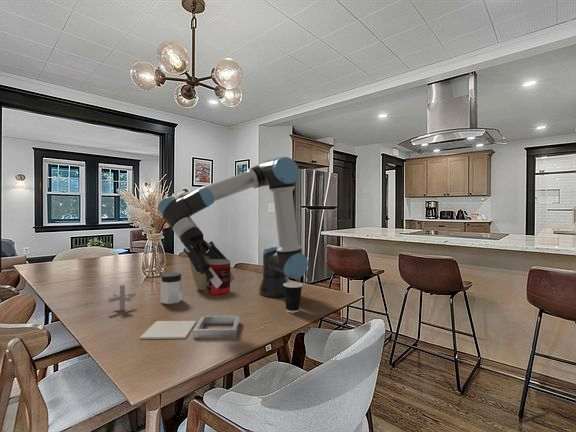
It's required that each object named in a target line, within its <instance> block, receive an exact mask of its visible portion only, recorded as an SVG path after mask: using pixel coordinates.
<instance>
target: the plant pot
mask: <svg viewBox="0 0 576 432" xmlns="http://www.w3.org/2000/svg"><path fill="white" fill-rule="evenodd" d="M204 256H205V255H204ZM205 259H206V262H207V261H208V260H211V259H210V258H209V257H208V256H205ZM189 262H190V268H191V272H192V278H193V281H194V283H195V286H196V289H197V290H198V291H206V275H205V274H200V272H197V271H196V269H195V267H194V266H193V264H192V262H191V260H190V259H189ZM199 267H200V266H199Z"/></svg>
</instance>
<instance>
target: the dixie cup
mask: <svg viewBox="0 0 576 432" xmlns="http://www.w3.org/2000/svg"><path fill="white" fill-rule="evenodd" d="M283 285H284V292H285V296H284V300H285V301H284V302H285V310H286V313H289V312H290V313H289V314H296V313H295V312H297V313H298V312H299V310H300V305H301V296H302V288H303V287H304V286H303V285H304V284H303V283H301V282H295V281H289V282H287V283H284V284H283Z"/></svg>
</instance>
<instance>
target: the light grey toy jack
mask: <svg viewBox="0 0 576 432" xmlns="http://www.w3.org/2000/svg"><path fill="white" fill-rule="evenodd" d="M125 292H126V284H119V293H118V292H114V294H113V295H112V297H108V303H115V302H118V301H119V311H124V310H126V308H125V307H126V302H131V301H132V298H134V297H136V292H135V291H134V292H130V293H125Z"/></svg>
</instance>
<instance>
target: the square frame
mask: <svg viewBox="0 0 576 432" xmlns="http://www.w3.org/2000/svg"><path fill="white" fill-rule="evenodd" d="M240 318H241V316H240V315H202V316H201V317H200V319H199V320H198V322H196V323H197V324H195V325H194V327H193V329H192V338H193V339H229V338H230V339H235V338H236V336H237V333H238V330H239V325H240V320H241V319H240ZM222 324H223V325H231V324H232V328H204V327H205V325H222Z"/></svg>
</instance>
